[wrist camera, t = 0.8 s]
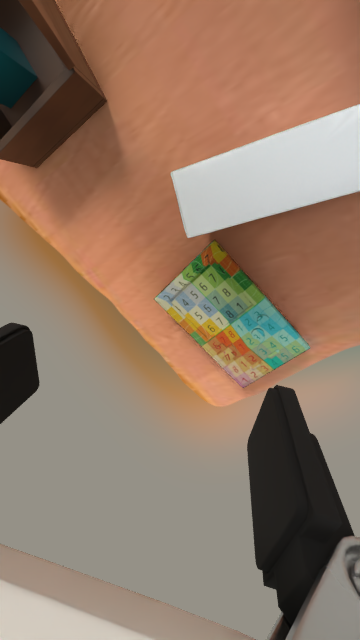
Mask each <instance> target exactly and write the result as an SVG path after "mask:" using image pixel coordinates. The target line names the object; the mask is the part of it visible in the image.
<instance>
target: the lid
mask: <svg viewBox="0 0 360 640" xmlns="http://www.w3.org/2000/svg"><path fill="white" fill-rule="evenodd" d="M18 1H19V2H20V3H21V5H22V6H23V8H24V9H25V10H26V12H27V13H28V15H29V16H30V17H31V19H32V20H33V22H34V23H35V24H36V26H37V27H38V28H39V30H40V31H41V33H42V34H43V35H44V37H45V38H46V40H47V41H48V42H49V44H50V45H51V47H52V48H53V49H54V51H55V52H56V54H57V55H58V56H59V58H60V59H61V60H62V62H63V63H64V65H65V66H66V67H67V69H68V70H71V69H72V68H73V67H74V66H75V64H74V62H73V60H72V58H71V56H70V55H69V53H68V51H67V49H66V47H65V45H64V43H63V42H62V40H61V38H60V36H59V34H58V32H57V30H56V29H55V27H54V25H53V23H52V21H51V19H50V17H49V16H48V14H47V12H46V10H45V8H44V6H43V4H42V3H41V1H40V0H18Z"/></svg>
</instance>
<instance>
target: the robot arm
mask: <svg viewBox="0 0 360 640" xmlns="http://www.w3.org/2000/svg"><path fill="white" fill-rule="evenodd" d="M38 387H39V377H38V370H37V363H36V356H35V349H34V343H33V335H32V332H31V331H30V329H29V328H28V327H27V326H24V325H20V324H16V323H9V324H7V325H5V326H3V327H1V328H0V424H1V423H2V422H3V421H4V420H5V419H6V418H7V417H8V416H10V415H11V414H12V413H13V412H14V411H15V410H16V409H17V408H18V407H19V406H20V405H22V404H23V403H24V402H25V401H26V400H27V399H28V398H29V397H30V396H31V395H32V394H34V393H35V392H36V391H37V389H38ZM247 451H248V464H249V476H250V492H251V505H252V517H253V532H254V546H255V559H256V565H257V568H258V569H260V570H262V571H263V582H264V586H267V587H270V588H273V589H276V590H277V599H278V607H279V608H280V610H281V611H282V612H281V614H280V615H279V618H278V619H277V621H276V623H275V625H274V626H273V628H272V630H271V632H270V634H269V636H268V637H267V639H266V640H360V537H355V536H354V533H353V531H352V528H351V525H350V523H349V520H348V518H347V515H346V512H345V510H344V508H343V505H342V502H341V500H340V497H339V494H338V492H337V489H336V487H335V484H334V481H333V479H332V476H331V474H330V471H329V469H328V466H327V463H326V461H325V458H324V456H323V453H322V450H321V448H320V445H319V443H318V440H317V438H316V437H315V436H314V435H313V434H311V433H310V432H309V429H308V427H307V424H306V421H305V418H304V416H303V413H302V410H301V408H300V405H299V402H298V399H297V396H296V394H295V391H294V390H293V389H291V388H287V387H282V386H278V385H276V386H275V387H274V388H269V389H268V391H267V393H266V396H265V398H264V401H263V403H262V406H261V409H260V412H259V414H258V416H257V419H256V421H255V424H254V426H253V429H252V431H251V434H250V436H249V439H248V445H247ZM0 640H256V639H253V638H251V637H249V636H247V635H245V634H243V633H240V632H238V631H236V630H233V629H231V628H228V627H225V626H223V625H220V624H218V623H215V622H213V621H210V620H207V619H205V618H202V617H200V616H197V615H194V614H192V613H189V612H187V611H184V610H182V609H179V608H176V607H174V606H171V605H169V604H166V603H163V602H161V601H158V600H155V599H152V598H150V597H147V596H144V595H141V594H138V593H136V592H133V591H130V590H127V589H124V588H122V587H119V586H116V585H113V584H111V583H108V582H105V581H103V580H100V579H97V578H94V577H91V576H89V575H86V574H83V573H80V572H78V571H75V570H72V569H69V568H66V567H64V566H61V565H58V564H55V563H53V562H50V561H47V560H44V559H41V558H38V557H36V556H33V555H30V554H27V553H24V552H22V551H19V550H16V549H13V548H10V547H8V546H5V545H2V544H0Z"/></svg>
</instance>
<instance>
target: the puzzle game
mask: <svg viewBox="0 0 360 640" xmlns="http://www.w3.org/2000/svg"><path fill="white" fill-rule="evenodd" d="M154 300H155V301H156V302H157V303H158V304H159V305H160V306H161V307H162V308H163V309H164V310H165V311H166V312H167V313H168V314H169V315H170V316H171V317H172V318H173V319H174V320H175V321H176V322H177V323H178V324H179V325H180V326H181V327H182V328H183V329H184V330H185V331H186V332H187V333H188V334H189V335H191V336H192V337H193V338H194V339H195V340H196V341H197V342H198V343H199V344H200V345H201V346H202V348H203V349H204V350H205V351H206V352H207V353H208V354H209V355H210V356H211V357H212V358H213V359H214V360H215V361H216V362H217V363H218V364H219V365H220V366H221V367H222V368H223V369H224V370H225V371H226V372H227V373H228V374H229V375H230V376H231V377H232V378H233V379H234V380H235V381H236V382H237V383H238V384H239V385H240V386H241V387H243V388H244V387H246V386H248V385H249V384H251V383H253V382H254V381H256V380H258V379H259V378H261V377H263V376H264V375H266V374H268V373H270V372H271V371H273V370H275V369H276V368H278V367H280V366H281V365H283V364H285V363H286V362H288V361H290V360H291V359H293V358H295V357H296V356H298V355H300V354H301V353H303V352H305V351H306V350H308V349H310V346H309V345H308V343H307V342H306V341H305V340H304V339H303V338H302V337H301V335H300V334H299V333H298V332H297V331H296V330H295V329H294V328H293V326H292V325H291V324H290V323H289V322H288V321H287V320H286V319H285V318H284V316H283V315H282V314H281V313H280V312H279V311H278V310H277V309H276V308H275V306H274V305H273V304H272V303H271V302H270V301H269V300H268V299H267V297H266V296H265V295H264V294H263V293H262V292H261V291H260V290H259V289H258V287H257V286H256V285H255V284H254V283H253V282H252V281H251V280H250V278H249V277H248V276H247V275H246V274H245V273H244V272H243V271H242V270H241V268H240V267H239V266H238V265H237V264H236V263H235V262H234V261H233V259H232V258H231V257H230V256H229V255H228V254H227V253H226V252H225V251H224V249H223V248H222V247H221V246H220V245H219V244H218V243H217V242H216V241H215V240H214V241H212V242H211V243H210V244H209V245H208V246H207V247H206V248H205V249H204V250H203V251H202V252H201V253H200V254H199V255H198V256H197V257H196V258H195V259H194V260H193V261H192V262H191V263H190V264H189V265H188V266H187V267H186V268H185V269H184V270H183V271H182V272H181V273H180V274H179V275H178V276H177V277H176V278H175V279H174V280H173V281H172V282H171V283H170V284H169V285H168V286H166V287H165V288H164V289H163V290H162V291H161V292H160V293H159V294H158V295H157V296H156V297H155V298H154Z"/></svg>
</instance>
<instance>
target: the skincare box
mask: <svg viewBox="0 0 360 640" xmlns="http://www.w3.org/2000/svg"><path fill="white" fill-rule="evenodd" d="M171 177H172V180H173V184H174V188H175V192H176V196H177V200H178V205H179V209H180V213H181V217H182V221H183V225H184V229H185V232H186V235H187V238H191V237H195V236H199V235H203V234H207V233H211V232H214V231H218V230H221V229H224V228H228V227H231V226H235V225H239V224H242V223H246V222H250V221H253V220H257V219H260V218H264V217H268V216H271V215H275V214H279V213H282V212H286V211H290V210H293V209H297V208H301V207H304V206H308V205H312V204H315V203H319V202H323V201H326V200H330V199H333V198H337V197H341V196H344V195H348V194H352V193H355V192H359V191H360V104H358V105H356V106H353V107H350V108H347V109H344V110H341V111H339V112H336V113H333V114H330V115H327V116H324V117H322V118H319V119H316V120H313V121H310V122H308V123H305V124H302V125H299V126H296V127H293V128H291V129H288V130H285V131H282V132H280V133H277V134H274V135H271V136H269V137H266V138H263V139H261V140H258V141H255V142H252V143H250V144H247V145H244V146H241V147H239V148H236V149H233V150H231V151H228V152H225V153H222V154H220V155H217V156H214V157H211V158H209V159H206V160H203V161H200V162H198V163H195V164H192V165H189V166H186V167H183V168H181V169H178V170H175V171H172V172H171Z"/></svg>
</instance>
